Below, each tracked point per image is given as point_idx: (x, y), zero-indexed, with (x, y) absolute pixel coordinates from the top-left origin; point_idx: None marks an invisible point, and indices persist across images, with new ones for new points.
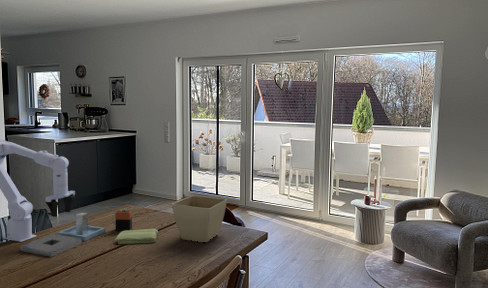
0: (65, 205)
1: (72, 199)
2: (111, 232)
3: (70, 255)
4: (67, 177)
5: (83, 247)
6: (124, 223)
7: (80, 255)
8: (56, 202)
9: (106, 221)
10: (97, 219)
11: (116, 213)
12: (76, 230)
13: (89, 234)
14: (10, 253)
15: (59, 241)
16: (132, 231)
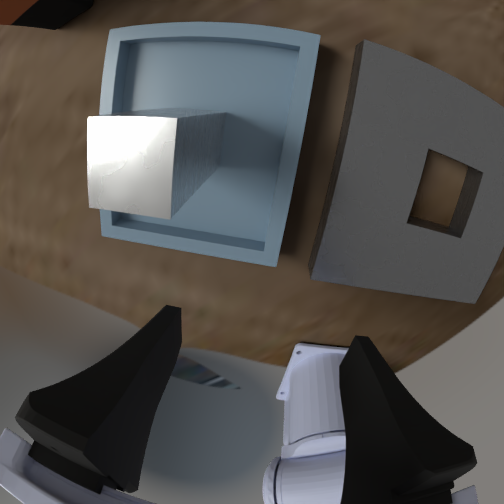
0: (158, 397)
1: (85, 412)
2: (120, 3)
3: (498, 49)
4: None
5: (408, 14)
6: None
7: (485, 7)
8: (467, 463)
9: (7, 167)
10: (10, 225)
11: None
12: (213, 169)
13: (263, 30)
14: (480, 304)
15: (421, 165)
16: None
